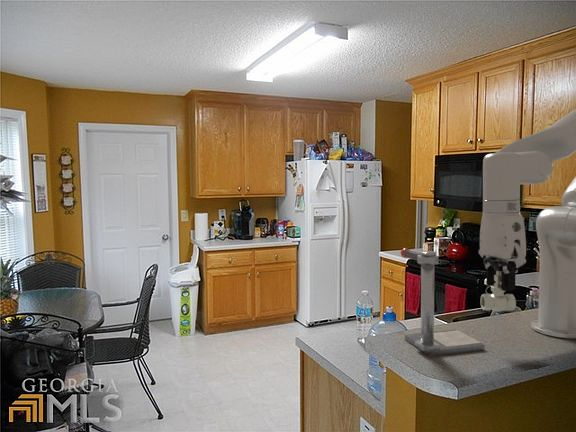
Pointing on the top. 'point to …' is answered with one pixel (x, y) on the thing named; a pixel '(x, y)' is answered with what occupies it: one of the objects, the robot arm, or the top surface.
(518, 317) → the top surface
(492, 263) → the valve
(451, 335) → the press
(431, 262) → the lever
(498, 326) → the top surface
